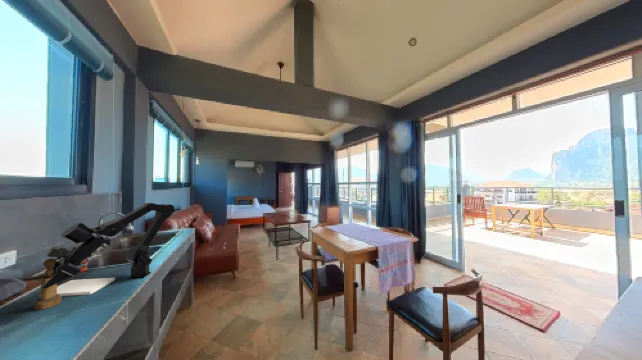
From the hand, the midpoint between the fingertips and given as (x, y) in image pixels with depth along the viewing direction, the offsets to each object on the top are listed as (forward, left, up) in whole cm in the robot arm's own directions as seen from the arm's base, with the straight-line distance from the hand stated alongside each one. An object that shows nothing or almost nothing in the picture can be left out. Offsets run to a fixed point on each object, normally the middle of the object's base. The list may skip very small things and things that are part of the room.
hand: (43, 284), depth 80 cm
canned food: (+17, -34, -9) cm, 39 cm away
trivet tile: (-1, -14, -9) cm, 16 cm away
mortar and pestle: (-1, -1, -9) cm, 9 cm away
